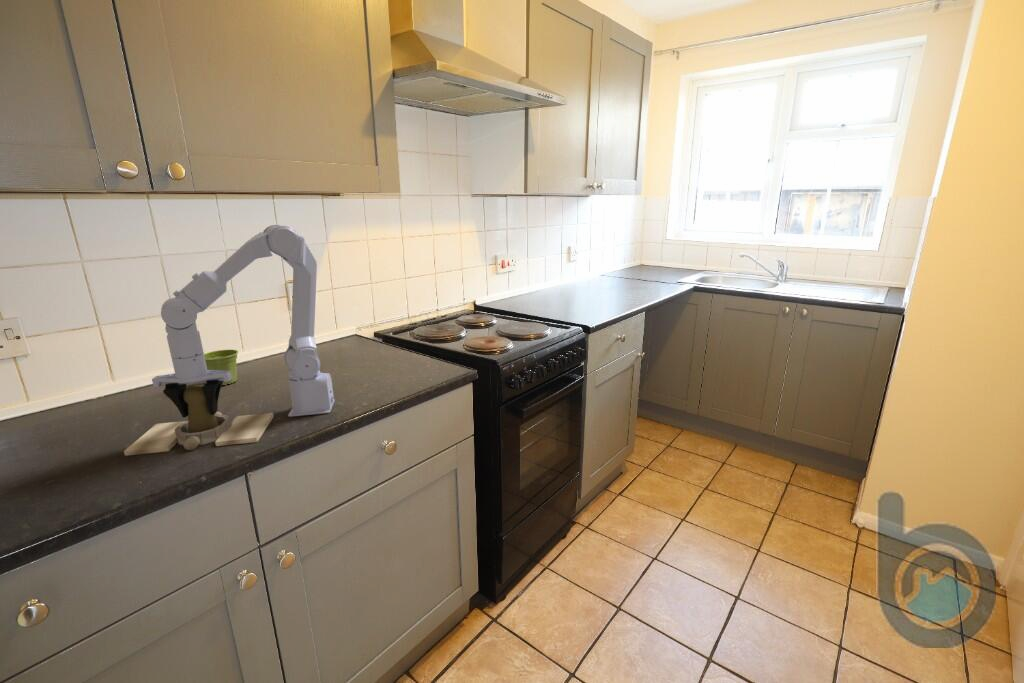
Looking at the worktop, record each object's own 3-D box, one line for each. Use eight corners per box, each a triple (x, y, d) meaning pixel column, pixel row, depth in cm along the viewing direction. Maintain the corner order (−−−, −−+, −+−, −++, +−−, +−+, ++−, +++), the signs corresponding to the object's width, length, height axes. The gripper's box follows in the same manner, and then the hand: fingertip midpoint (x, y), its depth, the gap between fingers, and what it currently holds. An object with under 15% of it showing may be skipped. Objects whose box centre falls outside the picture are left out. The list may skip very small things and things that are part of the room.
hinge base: (274, 415, 115) (273, 405, 114) (256, 443, 101) (254, 432, 101) (158, 426, 110) (156, 416, 110) (122, 457, 97) (119, 446, 96)
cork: (189, 442, 102) (180, 394, 99) (186, 431, 107) (178, 385, 104) (222, 434, 106) (214, 387, 103) (218, 424, 110) (210, 380, 107)
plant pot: (204, 382, 138) (198, 353, 136) (240, 374, 144) (235, 347, 141) (207, 391, 131) (201, 361, 129) (246, 383, 136) (240, 354, 134)
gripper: (231, 346, 106) (242, 403, 109) (158, 351, 103) (172, 409, 107) (219, 356, 99) (231, 416, 103) (141, 361, 96) (156, 423, 100)
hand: (200, 414), depth 104 cm, fingers closed on cork, 5 cm apart
